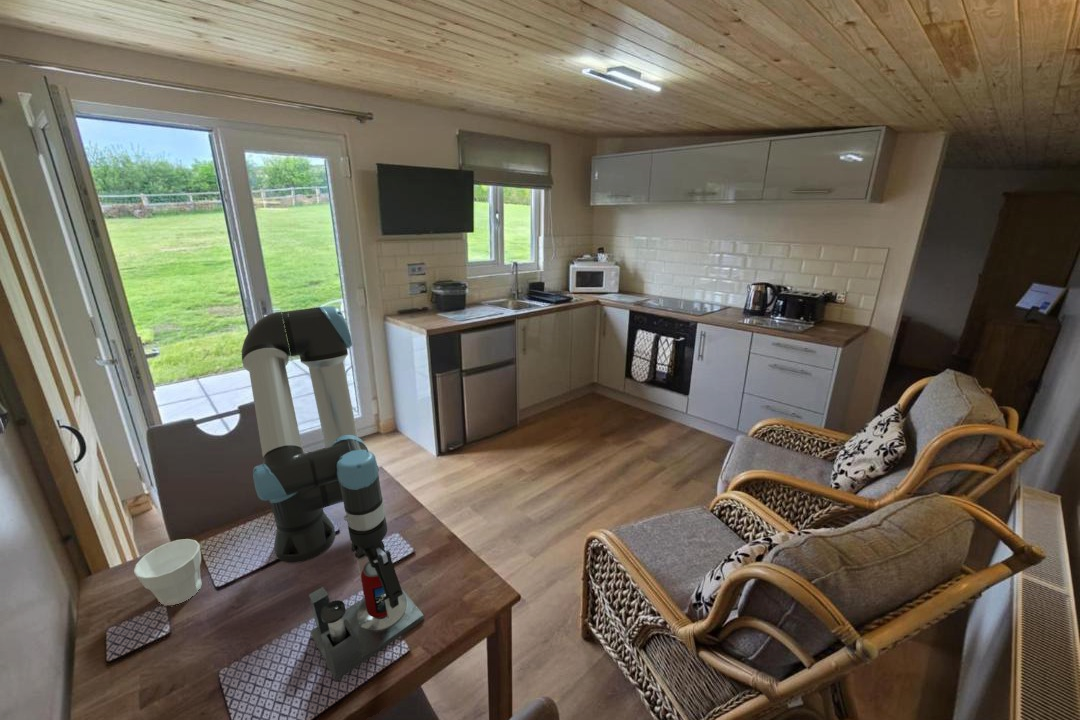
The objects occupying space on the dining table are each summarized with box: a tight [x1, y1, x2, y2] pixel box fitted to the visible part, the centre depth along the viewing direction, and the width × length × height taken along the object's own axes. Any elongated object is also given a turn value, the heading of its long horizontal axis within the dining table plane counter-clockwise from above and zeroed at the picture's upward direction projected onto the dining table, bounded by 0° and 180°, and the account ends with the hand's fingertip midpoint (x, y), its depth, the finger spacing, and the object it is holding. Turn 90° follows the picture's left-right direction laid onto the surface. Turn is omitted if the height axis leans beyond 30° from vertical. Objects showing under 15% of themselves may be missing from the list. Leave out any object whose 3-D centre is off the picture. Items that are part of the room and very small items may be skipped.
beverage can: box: [360, 559, 387, 617], centre depth 102 cm, size 7×7×12 cm
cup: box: [133, 538, 203, 605], centre depth 109 cm, size 12×12×11 cm
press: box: [308, 586, 425, 683], centre depth 99 cm, size 14×20×10 cm
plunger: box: [321, 599, 347, 647], centre depth 90 cm, size 4×4×9 cm
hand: (380, 596), depth 102 cm, fingers open, 13 cm apart
